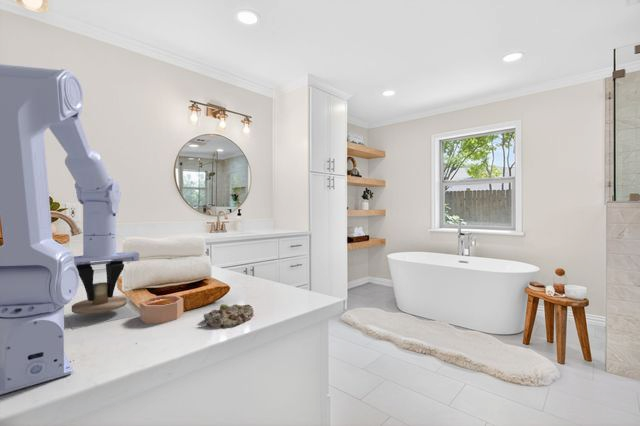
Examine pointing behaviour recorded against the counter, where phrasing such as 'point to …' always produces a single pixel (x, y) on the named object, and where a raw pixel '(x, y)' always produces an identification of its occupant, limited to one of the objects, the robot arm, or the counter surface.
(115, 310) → the mat
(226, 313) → the mineral rock
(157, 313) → the bowl
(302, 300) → the counter surface
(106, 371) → the counter surface
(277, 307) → the counter surface
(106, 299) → the lid
